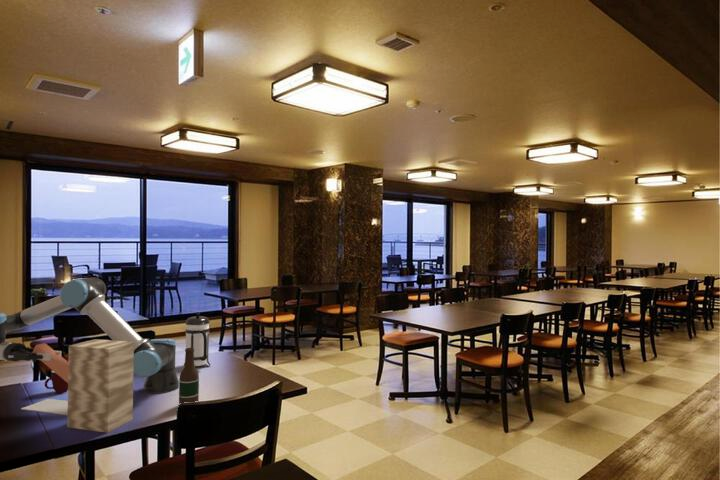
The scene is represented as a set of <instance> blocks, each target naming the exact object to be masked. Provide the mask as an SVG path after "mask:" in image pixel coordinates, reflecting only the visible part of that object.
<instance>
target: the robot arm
mask: <svg viewBox="0 0 720 480" xmlns="http://www.w3.org/2000/svg"><path fill="white" fill-rule="evenodd" d="M106 293H107V286H106V283H105V282H104V281H103V280H101V279H100V278H98V277H85V278H74V279H72V280H69V281H67V282H66V283H64V285H63V286H62V287H61V289H60V295H57V296H55V297H53V298H50V299H46V300H45V301H43V302H40V303H38V304H35V305H33V306H30V307H28V308H24V309H23V310H21V311H18V312H15V313H13V314H8V315H7V314H6V313H5V312H0V360H1V361H4V362H7V361H9V362H20V361H28V362H30V361H31V360H32V362H37V360H38V361H41V360H46V361H51V354H48V353H37V355H36V353H32V352H33V350H34V348H35V347H30V346H29V347H26V345H25V344H23V343H21V342H19V343H18V342H8V341H6V336H7V333H12V332H14V331H18V330H23V329H25V328H27V327H29V326H32V325H33V324H36V323H38V322H41V321H43V320H46V319H48V318H50V317H54V316H56V315H58V314H61V313H63V312H65V311H68V310H70V309H75V310H77V312H79V314H80V315H87V316H89V318H90V319H91V320H93V322H94V323H95V324H96V325H97V326H98V327H99V328H101V330H102V331H103V332H104V333H105V334H106V335H107V336H108V337H109V338H110V340H113V341H127V342H134V367H133V375H135V376H137V377H142V378H145V381H144V384H143V392H145V393H148V394H149V393H150V394H162V393H166V392H168V393H169V392H171V391H175V390H177V389H179V378H178V375H177V372H176V348H177V345H176V340H175V338H154V339H152V338H151V339H150V338H143V337H142V336H140V334H139V333H138V332H137V331H136V330H135V329H134V328H133V327H131V325H130V324H129V323H128V322H127V321H126V320H124V319H123V317H122V316H121V315H120V314H118V312H116V310H115V309H114V308H113V307H111V306H110V305H109V304H108V302H107V301H106ZM54 351H55V352H56V353H58V354H59V355H60V356H61V357H62V353H63V352H62V351H61V350H54Z"/></svg>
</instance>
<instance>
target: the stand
mask: <svg viewBox="0 0 720 480" xmlns="http://www.w3.org/2000/svg"><path fill="white" fill-rule="evenodd" d="M67 362H68V390H67V401H68V415H66V417H67V418H66V419H67V423H66V425H67V426H66V427H67V428H71V429H78V430H84V431H85V430H86V431H91V432H92V431H93V432H99V433H100V432H102V433H111V432H112V431H114V430H116V429H117V428H120V427H122V426H123V425H125V424H128V423H130V422H131V421H133V419H134V416H133V415H134V413H133V412H134V373H133V367H134V342H127V341H113V340H112V339H110V340H109V339H98V338H97V339H96V338H95V339H91V340H86V341H83V342H78V343H75V344H72V345H71V344H70V345H68V360H67Z"/></svg>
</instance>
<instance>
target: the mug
mask: <svg viewBox="0 0 720 480" xmlns="http://www.w3.org/2000/svg"><path fill="white" fill-rule="evenodd" d="M50 374H51V375H50V377H48V378H47V379H45V380H44V381H45V382H44V387H45V388H46V389H48V390H54V391H55V393H56V394H65V393H68V383H67V382H66V381H65V380H64V379H62V378H61V377H60V376H59V375H58V374H56V373H55V372H54V371H53V370H51V373H50ZM49 381H51V385H52V386H48V383H49Z"/></svg>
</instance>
